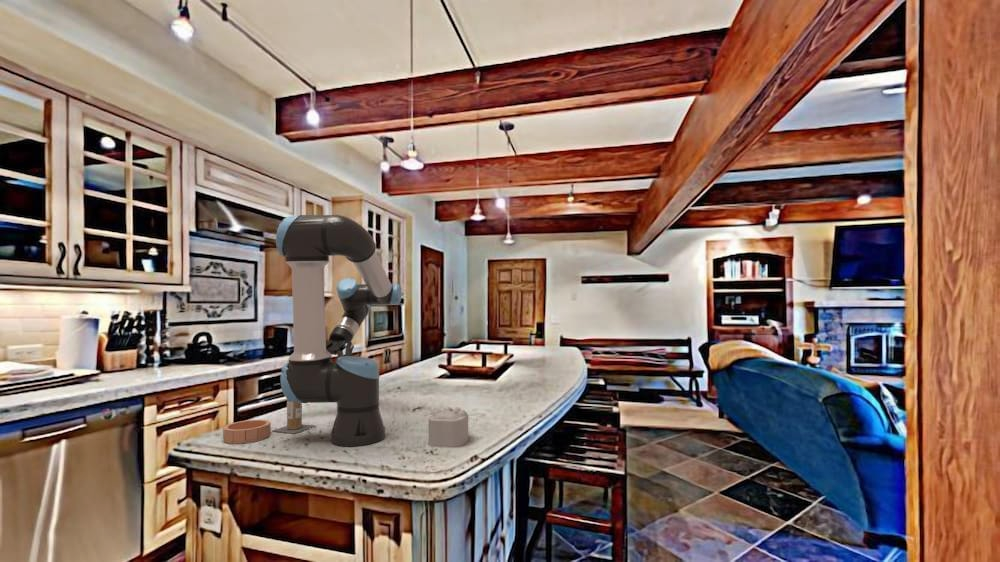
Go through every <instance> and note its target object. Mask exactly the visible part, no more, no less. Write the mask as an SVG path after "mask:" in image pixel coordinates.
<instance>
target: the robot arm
mask: <svg viewBox="0 0 1000 562" xmlns="http://www.w3.org/2000/svg"><path fill="white" fill-rule="evenodd" d="M275 234H276V235H275V246H276V248H277V251H278V254H279V256H282V257H284V258H285V263H286V264H287V265H288V266H289V267H290V269H291V290H292V293H291V294H292V315H293V316H292V317H293V319H292V321H293V352H292V353H291V354H290V355H289V356H288V362H286V363H284V365H283V366H282V368H281V373H280V378H279V379H280V387H281V390H282V394H283V396H284V397H285V398H286V400H287V399H288V400H289V401H291V402H297V403H302V404H308V403H311V404H312V403H314V404H315V403H319V404H320V403H325V404H326V403H336V407H337V408H336V416H335V419H334V423H333V425H332V429H331V432H330V443H332V444H333V445H335V446H340V447H359V446H365V445H366V446H367V445H370V444H371V445H372V444H375V443H377V442H380V441H382V440H384V439H385V437H386V427H385V425H384V422H383V418H382V415H381V412H380V372H379V370H380V369H379V364H378V363H379V362H377V360H375V359H373V358H370V357H364V356H355V355H354V356H353V350H354V348H355V346H354V344H353V343H352V341H353V340H354V337H355V336H356V334H357V332H358V331H359V329H360V327H361V326H362V323H363V322H364V321H365V319H366V317H367V316H368V315H369V312H370V311H371V308H372V306H392V305H399V304H400V303H401V301H402V287H401V285H400V284H398V283H392V282H391V280H390V279H389V277H388V275H387V273H386V271H385V269H384V267H383V264H382V263H381V260H380V258H379V256H378V254H377V252H376V249H377V246H376V242H375V241H374V238H373V236H372V235H371V234H370V232H369V231H368V230H367V229H366V228H364V226H362V225H361V224H359V223H358V222H357V221H356V220H354V219H352V218H351V217H347V216H345V215H339V214H307V215H306V214H297V215H290V216H286V217H284V218H283V219H282V220H281V222H280V223H279V225H278V227H277V230H276V233H275ZM330 256H341V257H345V258H346V260H348V261H349V262H351V263H353V265H354V267H355V268H356V270H357V271H358V273H359V274H360V276H361V278H362V280H363V281H364V283H362V284H361V283H358V281H357V280H356V279H354V278H353V277H352V278H351V277H346V278H343V279H341V280H340V281H338V283H337V284H336V286H335V287H336V292H337V296H338V298H339V301H340V303H341V307H342V308H343V312H344V313H343V314H342V316H341V317H340V319H339V320H338V322H336V325H335V326H334V328H333V330H331V333H330V334H329V339H328V340H327V338H326V309H325V308H326V307H325V306H326V305H325V304H326V303H325V301H326V300H325V270H324V269H325V267H326V266H327V265H328V264H329V262H330ZM326 340H327V341H326ZM344 350H345V352H344ZM344 353H345V354H344ZM332 355H335V356H336V357H337V359H336V361H333V359H332Z"/></svg>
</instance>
